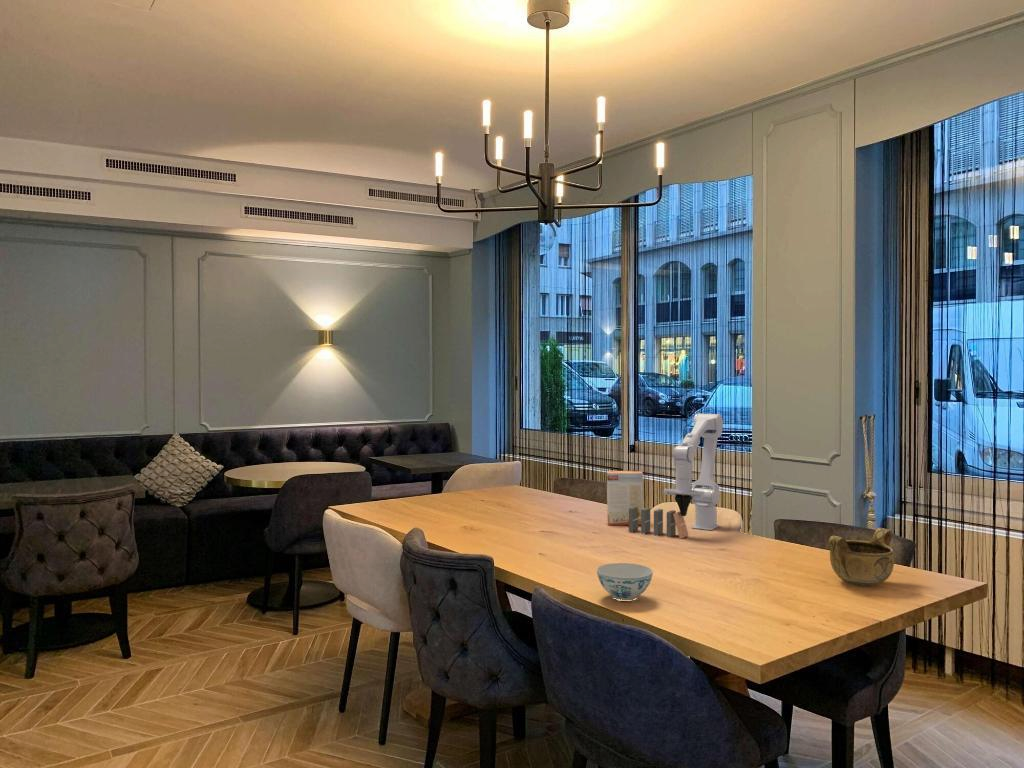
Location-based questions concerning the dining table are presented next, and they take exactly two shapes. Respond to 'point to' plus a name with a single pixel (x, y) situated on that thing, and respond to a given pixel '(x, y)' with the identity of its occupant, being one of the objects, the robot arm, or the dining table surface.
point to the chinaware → (624, 579)
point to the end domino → (633, 519)
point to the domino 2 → (658, 521)
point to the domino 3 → (671, 524)
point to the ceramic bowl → (863, 559)
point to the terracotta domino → (680, 525)
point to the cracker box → (623, 495)
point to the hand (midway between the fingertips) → (683, 515)
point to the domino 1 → (645, 520)
